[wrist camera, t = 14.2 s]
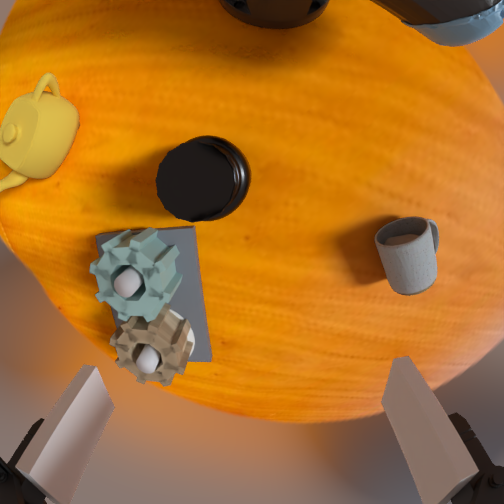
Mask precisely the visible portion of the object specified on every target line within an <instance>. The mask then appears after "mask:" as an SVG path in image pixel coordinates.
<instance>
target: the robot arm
mask: <svg viewBox="0 0 504 504" xmlns="http://www.w3.org/2000/svg"><path fill="white" fill-rule="evenodd" d="M370 1H372V2H374V3H375V4H377V5H379V6H380V7H382V8H383V9H385V10H387V11H388V12H390V13H391V14H393V15H394V16H396V17H397V18H399V19H400V20H401V22H402V23H404V24H405V25H407V26H409V27H412V28H414V29H416V30H417V31H418V32H420V33H421V34H423V35H424V36H425V37H427V38H428V39H430V40H431V41H433V42H435V43H437V44H439V45H444V46H450V47H455V46H463V45H467V44H470V43H473V42H476V41H478V40H480V39H482V38H484V37H486V36H487V35H489V34H491V33H492V32H494V31H495V30H496V29H497V28H499V27H500V25H502V23H503V18H504V0H370ZM220 2H221V4H222V6H223V7H224V8H225V9H226V10H227V11H228V12H229V13H230V14H231V15H232V16H234V17H235V18H237V19H239V20H241V21H243V22H245V23H248V24H251V25H254V26H258V27H263V28H272V29H284V28H293V27H297V26H301V25H304V24H307V23H309V22H311V21H313V20H314V19H316V18H317V17H319V16H320V15H321V14H322V13H323V11H324V10H325V8H326V6H327V4H328V2H329V0H220ZM381 403H382V405H383V407H384V410H385V412H386V414H387V416H388V419H389V421H390V423H391V425H392V428H393V430H394V432H395V435H396V437H397V439H398V442H399V444H400V446H401V449H402V451H403V454H404V456H405V459H406V461H407V464H408V466H409V469H410V471H411V473H412V476H413V479H414V481H415V484H416V486H417V489H418V492H419V494H420V497H421V500H422V502H423V504H447V503H448V502H449V501H450V500H451V502H452V504H504V467H502V466H495V465H494V464H493V463H492V461H491V460H490V458H489V456H488V455H487V453H486V451H485V450H484V448H483V446H482V445H481V443H480V441H479V440H478V439H477V438H476V435H475V433H474V432H473V430H471V427H470V425H469V424H468V422H467V421H466V419H465V418H463V417H462V416H461V415H459V414H458V413H454V414H451V415H448V416H447V414H446V413H445V411H444V409H443V408H442V406H441V405H440V403H439V402H438V400H437V398H436V397H435V395H434V394H433V392H432V390H431V389H430V387H429V386H428V384H427V383H426V381H425V380H424V378H423V377H422V375H421V374H420V372H419V371H418V369H417V368H416V366H415V365H414V363H413V362H412V360H411V359H410V358H409V356H406V357H401V358H396V359H393V363H392V367H391V370H390V374H389V378H388V381H387V385H386V388H385V391H384V395H383V398H382V401H381ZM114 408H115V407H114V404H113V402H112V400H111V398H110V396H109V394H108V392H107V390H106V388H105V385H104V383H103V381H102V378H101V376H100V374H99V372H98V369H97V367H96V366H90V365H83V366H82V368H81V369H80V370H79V372H78V373H77V374H76V376H75V377H74V379H73V380H72V381H71V383H70V384H69V385H68V387H67V388H66V390H65V391H64V392H63V394H62V395H61V397H60V398H59V400H58V401H57V402H56V404H55V406H54V407H53V408H52V410H51V411H50V413H49V414H48V416H47V417H46V419H42V418H41V419H40V420H38V421H37V422H36V423H35V424H33V425H32V427H31V428H30V430H29V431H28V434H26V436H25V438H24V440H23V441H22V442H21V444H20V445H19V447H18V448H17V450H16V451H15V453H14V454H13V456H12V458H11V459H10V461H9V462H8V463H7V464H6V463H5V462H4V461H3V460H2V458H1V457H0V504H47V503H46V501H45V500H44V499H45V497H47V498H49V499H50V500H51V501H52V502H53V503H55V504H70V502H71V500H72V497H73V495H74V493H75V491H76V488H77V486H78V484H79V481H80V479H81V477H82V475H83V473H84V470H85V468H86V466H87V464H88V462H89V460H90V457H91V455H92V453H93V451H94V449H95V447H96V445H97V443H98V441H99V438H100V436H101V434H102V432H103V430H104V428H105V426H106V424H107V422H108V420H109V418H110V416H111V414H112V412H113V410H114Z"/></svg>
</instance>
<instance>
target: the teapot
mask: <svg viewBox="0 0 504 504" xmlns="http://www.w3.org/2000/svg"><path fill="white" fill-rule="evenodd" d="M46 86H49V88H50V89H51V91H52V92H48V91H43V90H44V89H45V87H46ZM79 120H80V118H79V113H78V110H77V109H76V107H75V106H74V105H73V104H72V103H71V102H69V101H68V100H67V99H65V98H64V97H62V96H60V91H59V86H58V82H57V79H56V77H55V76H54V75H53V74H52V73H46V74H44V75H43V76H42V78H41V79H40V80H39V82H38V84H37V86H36V88H35V90H34V92H31V93H28V94H25V95H23V96H20V97H18V98H17V99H15V100H14V102H13V103H12V104H11V106H10V108H9V109H8V111H7V113H6V115H5V117H4V120H3V122H2V125H1V128H0V159H1V160H2V161H3V162H4V163H5V164H7V165H8V166H9V167H10V168H12V169H13V170H12V172H11V173H10V174H9V175H8V176H7V177H5V178H3V179H2V180H0V192H1V191H3V190H5V189H8V188H11V187H15V186H19V185H21V184H23V183H24V182H25V181H26V180H27V179H28V178H29V177H31V178H37V179H43V178H48V177H50V176H52V175H53V174H54V173H55V172H56V171H57V170H58V168H59V167H60V166H61V164H62V163H63V161H64V159H65V158H66V156H67V154H68V153H69V151H70V149H71V147H72V144H73V142H74V139H75V136H76V133H77V130H78V129H79V126H80V122H79Z"/></svg>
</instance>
